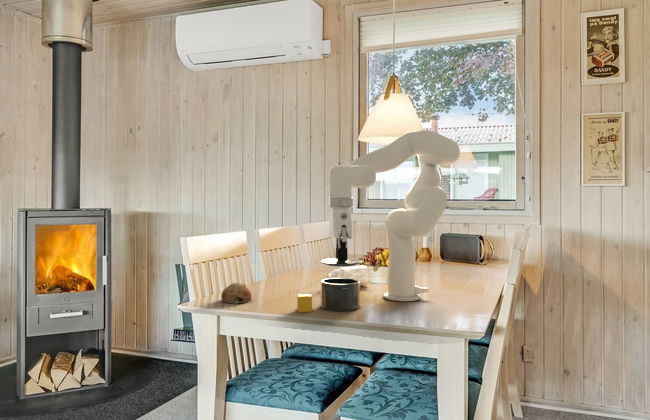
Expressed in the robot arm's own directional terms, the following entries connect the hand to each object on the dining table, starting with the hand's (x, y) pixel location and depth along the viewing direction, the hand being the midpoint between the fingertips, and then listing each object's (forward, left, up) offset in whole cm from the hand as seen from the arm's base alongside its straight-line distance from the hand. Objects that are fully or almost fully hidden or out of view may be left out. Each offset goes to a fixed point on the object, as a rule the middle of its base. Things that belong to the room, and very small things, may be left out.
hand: (341, 259), depth 170 cm
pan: (0, 0, -15) cm, 16 cm away
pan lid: (0, 0, -1) cm, 1 cm away
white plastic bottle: (-9, -34, -16) cm, 38 cm away
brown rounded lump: (+34, -13, -16) cm, 40 cm away
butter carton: (+12, +4, -15) cm, 20 cm away
